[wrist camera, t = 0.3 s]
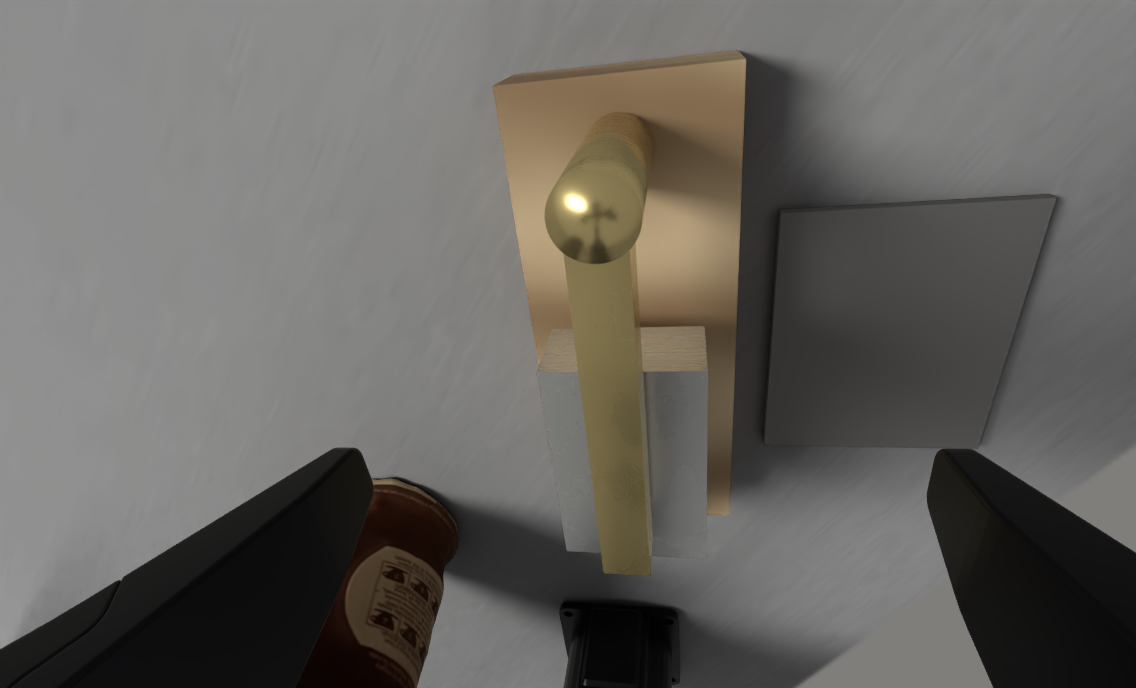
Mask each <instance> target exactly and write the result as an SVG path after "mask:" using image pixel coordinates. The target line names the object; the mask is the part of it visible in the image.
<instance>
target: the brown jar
mask: <svg viewBox="0 0 1136 688" xmlns="http://www.w3.org/2000/svg"><path fill="white" fill-rule="evenodd" d="M372 481H373V486H374V493H373V498H372V501H371V504H370V507H369V510H368V513H367V516H366V519H365V522H364V525H363V528H362V531H361V534H360V537H359V540H358V542H357V545H356V548H355V551H354V554H353V557H352V560H351V563H350V566H349V568H348V571H347V574H346V576H345V579H344V581H343V584H342V586H341V588H340V591H339V593H338V595H337V597H336V600H335V602H334V604H333V606H332V608H331V610H330V613H329V615H328V617H327V619H326V621H325V624H324V626H323V628H322V630H321V632H320V635H319V637H318V639H317V641H316V643H315V645H314V648H313V650H312V652H311V654H310V656H309V659H308V661H307V663H306V665H305V667H304V670H303V672H302V674H301V676H300V678H299V680H298V683H297V685H296V687H295V688H417V685H418V682H419V678H420V674H421V671H422V668H423V665H424V661H425V659H426V656H427V654H428V649H429V644H430V640H431V634H432V629H433V626H434V623H435V621H436V617H437V613H438V610H439V607H440V604H441V600H442V596H443V590H444V584H443V574H444V568H445V565H446V564H447V563H448V562H450V561H451V559H452V558H453V557H454V555H455V553H456V550H457V547H458V541H459V539H458V530H457V525H456V523H455V521H454V519H453V518H452V517H451V515H450V514H449V513H448V511H447V510H446V509H445V508H444V507H443V506H442V505H441V504H440V503H439V502H438V501H436V500H435V499H433V498H432V497H431V496H429V495H428V494H426V493H425V492H423V491H422V490H420V489H419V488H417V487H415V486H411V485H408V484H406V483H404V482H401V481H399V480H397V479H392V478H388V479H381V480H374V479H372Z"/></svg>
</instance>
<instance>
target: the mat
mask: <svg viewBox="0 0 1136 688" xmlns="http://www.w3.org/2000/svg"><path fill="white" fill-rule="evenodd" d="M1055 202H1056V197H1054V196H1052V195H1051V194H1041V195H1023V196H1006V197H989V198H971V199H954V200H937V201H919V202H902V203H885V204H867V205H850V206H833V207H815V208H798V209H780V210H779V219H778V233H777V248H776V262H775V276H774V290H773V304H772V318H771V332H770V346H769V360H768V375H767V389H766V403H765V417H764V431H763V442H764V445H791V446H848V447H905V448H962V449H978V447H979V443H980V440H981V437H982V434H983V431H984V428H985V424H986V421H987V418H988V415H989V412H990V408H991V405H992V402H993V399H994V396H995V393H996V389H997V386H998V383H999V380H1000V377H1001V373H1002V370H1003V367H1004V364H1005V361H1006V358H1007V354H1008V351H1009V348H1010V345H1011V342H1012V338H1013V335H1014V332H1015V329H1016V326H1017V323H1018V319H1019V316H1020V313H1021V310H1022V307H1023V303H1024V300H1025V297H1026V294H1027V291H1028V288H1029V284H1030V281H1031V278H1032V275H1033V272H1034V268H1035V265H1036V262H1037V259H1038V256H1039V253H1040V249H1041V246H1042V243H1043V240H1044V237H1045V233H1046V230H1047V227H1048V224H1049V221H1050V218H1051V214H1052V211H1053V208H1054V205H1055Z"/></svg>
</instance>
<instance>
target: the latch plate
mask: <svg viewBox="0 0 1136 688" xmlns="http://www.w3.org/2000/svg"><path fill="white" fill-rule="evenodd" d="M745 79H746V58H745V57H744V56H743V55H742V54H741V53H740V52H739V51H738V50H736V51H727V52H718V53H709V54H700V55H691V56H682V57H673V58H663V59H654V60H645V61H636V62H627V63H618V64H609V65H600V66H591V67H582V68H572V69H563V70H554V71H545V72H536V73H527V74H518V75H512V76H510V77H509V78H507V79H505V80H503V81H501V82H499V83H497V84H495V85H494V86H493V92H494V98H495V104H496V110H497V116H498V122H499V128H500V134H501V140H502V146H503V153H504V159H505V165H506V171H507V177H508V183H509V189H510V195H511V201H512V207H513V213H514V219H515V225H516V231H517V237H518V243H519V249H520V255H521V261H522V267H523V273H524V279H525V285H526V291H527V297H528V303H529V309H530V315H531V321H532V327H533V333H534V339H535V345H536V351H537V357H538V363H539V364H540V361H541V359H542V356H543V353H544V350H545V348H546V345H547V342H548V340H549V337H550V334H551V331H552V329H573V327H572V319H571V311H570V303H569V295H568V287H567V279H566V271H565V263H564V255H563V252H561V251H560V250H559V249H558V248H557V247H556V245H555V244H554V243H553V241H552V240H551V238H550V236H549V234H548V231H547V229H546V224H545V216H544V214H545V206H546V202H547V199H548V196H549V194H550V192H551V191H552V189H553V187H554V186H555V184H556V182H557V181H558V179H559V178H560V176H561V174H562V173H563V171H564V170H565V168H566V166H567V165H568V163H569V162H570V160H571V158H572V157H573V155H574V154H575V152H576V150H577V149H578V147H579V146H580V144H581V142H582V141H583V139H584V138H585V136H586V134H587V133H588V131H589V130H590V128H591V127H592V125H593V124H594V123H595V122H596V121H597V120H598V119H600V118H601V117H603V116H605V115H607V114H610V113H614V112H625V113H629V114H632V115H634V116H636V117H638V118H639V119H640V120H642V121H643V122H644V123H645V125H646V126H647V127H648V129H649V131H650V133H651V136H652V139H653V155H652V162H651V168H650V175H649V181H648V188H647V194H646V201H645V208H644V214H643V221H642V227H641V231H640V234H639V236H638V239H637V241H636V259H637V276H638V293H639V310H640V327H681V326H704V327H705V340H706V353H707V366H708V416H707V515H725V516H730V489H731V462H732V434H733V407H734V380H735V352H736V325H737V298H738V271H739V243H740V216H741V189H742V161H743V134H744V107H745Z"/></svg>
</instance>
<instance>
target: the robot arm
mask: <svg viewBox="0 0 1136 688" xmlns="http://www.w3.org/2000/svg"><path fill="white" fill-rule="evenodd" d="M373 493H374V486H373V481H372V479H371V476H370V474H369V471H368V468H367V466H366V463H365V461H364V458H363V456H362V453H361V452H360V451H359V450H358V449H356V448H334V449H332V450H330V451H328V452H326V453H325V454H323V455H322V456H320V457H318V458H317V459H315V460H313V461H312V462H310V463H309V464H307V465H305V466H304V467H302V468H300V469H299V470H297V471H295V472H294V473H292V474H291V475H289V476H287V477H286V478H284V479H282V480H281V481H279V482H277V483H276V484H274V485H273V486H271V487H269V488H268V489H266V490H264V491H263V492H261V493H260V494H258V495H256V496H255V497H253V498H251V499H250V500H248V501H246V502H245V503H243V504H242V505H240V506H238V507H237V508H235V509H233V510H232V511H230V512H229V513H227V514H225V515H224V516H222V517H220V518H219V519H217V520H215V521H214V522H212V523H211V524H209V525H207V526H206V527H204V528H202V529H201V530H199V531H197V532H196V533H194V534H193V535H191V536H189V537H188V538H186V539H184V540H183V541H181V542H180V543H178V544H176V545H175V546H173V547H171V548H170V549H168V550H166V551H165V552H163V553H162V554H160V555H158V556H157V557H155V558H153V559H152V560H150V561H148V562H147V563H145V564H144V565H142V566H140V567H139V568H137V569H135V570H134V571H132V572H131V573H129V574H127V575H126V576H124V577H123V578H122V580H121V581H120V580H118V581H116V582H114V583H112V584H111V585H109V586H107V587H106V588H104V589H103V590H101V591H99V592H98V593H96V594H94V595H93V596H91V597H90V598H88V599H86V600H84V601H83V602H81V603H79V604H78V605H76V606H74V607H73V608H71V609H69V610H68V611H66V612H64V613H63V614H61V615H59V616H58V617H56V618H54V619H53V620H51V621H49V622H47V623H46V624H44V625H42V626H40V627H39V628H37V629H35V630H33V631H31V632H30V633H28V634H26V635H24V636H23V637H21V638H19V639H17V640H16V641H14V642H12V643H10V644H8V645H7V646H5V647H3V648H1V649H0V688H295V687H296V685H297V683H298V680H299V678H300V676H301V674H302V672H303V670H304V667H305V665H306V663H307V661H308V659H309V656H310V654H311V652H312V650H313V648H314V645H315V643H316V641H317V639H318V637H319V635H320V632H321V630H322V628H323V626H324V624H325V621H326V619H327V617H328V615H329V613H330V610H331V608H332V606H333V604H334V602H335V600H336V597H337V595H338V593H339V591H340V588H341V586H342V584H343V581H344V579H345V576H346V574H347V571H348V568H349V566H350V563H351V560H352V557H353V554H354V551H355V548H356V545H357V542H358V540H359V537H360V534H361V531H362V528H363V525H364V522H365V519H366V516H367V513H368V510H369V507H370V504H371V501H372V498H373ZM927 504H928V509H929V512H930V516H931V519H932V522H933V525H934V529H935V532H936V535H937V539H938V542H939V545H940V548H941V552H942V555H943V558H944V561H945V565H946V568H947V571H948V574H949V578H950V581H951V584H952V587H953V591H954V594H955V597H956V600H957V603H958V606H959V609H960V611H961V614H962V616H963V619H964V621H965V624H966V626H967V629H968V631H969V633H970V635H971V638H972V640H973V642H974V645H975V647H976V649H977V651H978V654H979V656H980V658H981V660H982V663H983V665H984V667H985V670H986V672H987V674H988V676H989V679H990V681H991V683H992V686H993V688H1136V553H1135V552H1134V551H1132V550H1131V549H1129V548H1128V547H1126V546H1124V545H1123V544H1121V543H1120V542H1118V541H1117V540H1115V539H1113V538H1112V537H1110V536H1109V535H1107V534H1106V533H1104V532H1102V531H1101V530H1099V529H1098V528H1096V527H1094V526H1093V525H1091V524H1090V523H1088V522H1087V521H1085V520H1083V519H1082V518H1080V517H1079V516H1077V515H1076V514H1074V513H1072V512H1071V511H1069V510H1068V509H1066V508H1065V507H1063V506H1061V505H1060V504H1058V503H1057V502H1055V501H1054V500H1052V499H1050V498H1049V497H1047V496H1046V495H1044V494H1043V493H1041V492H1039V491H1038V490H1036V489H1035V488H1033V487H1032V486H1030V485H1028V484H1027V483H1025V482H1024V481H1022V480H1021V479H1019V478H1017V477H1016V476H1014V475H1013V474H1011V473H1009V472H1008V471H1006V470H1005V469H1003V468H1002V467H1000V466H998V465H997V464H995V463H994V462H992V461H991V460H989V459H987V458H986V457H984V456H983V455H981V454H980V453H978V452H976V451H974V450H971V449H942V450H940V451H938V452H937V454H936V456H935V459H934V463H933V468H932V472H931V477H930V481H929V486H928V490H927ZM559 614H560V619H561V624H562V629H563V635H564V640H565V645H566V650H567V655H568V664H567V670H566V676H565V682H564V688H672V685H675V684H678V683H679V682H680V655H679V621H678V613H677V612H676V611H673V610H670V609H658V608H644V607H631V606H617V605H603V604H589V603H575V602H564V603H562V604H561V607H560V612H559Z"/></svg>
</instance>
